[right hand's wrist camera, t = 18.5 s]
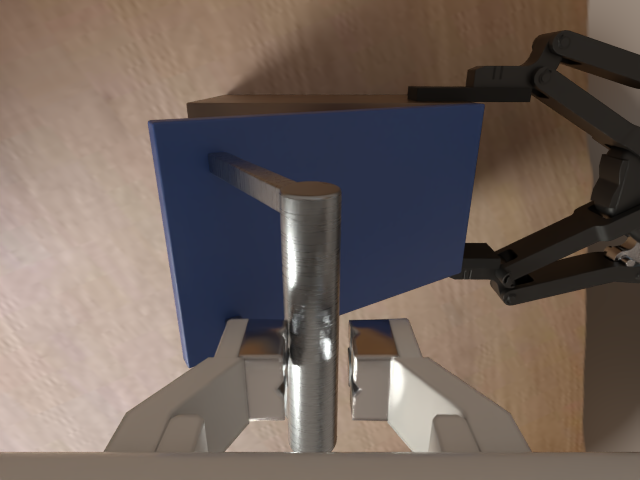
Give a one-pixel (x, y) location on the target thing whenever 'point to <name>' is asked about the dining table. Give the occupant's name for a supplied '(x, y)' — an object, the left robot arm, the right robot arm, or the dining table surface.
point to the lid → (310, 227)
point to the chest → (298, 104)
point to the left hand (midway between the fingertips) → (405, 180)
